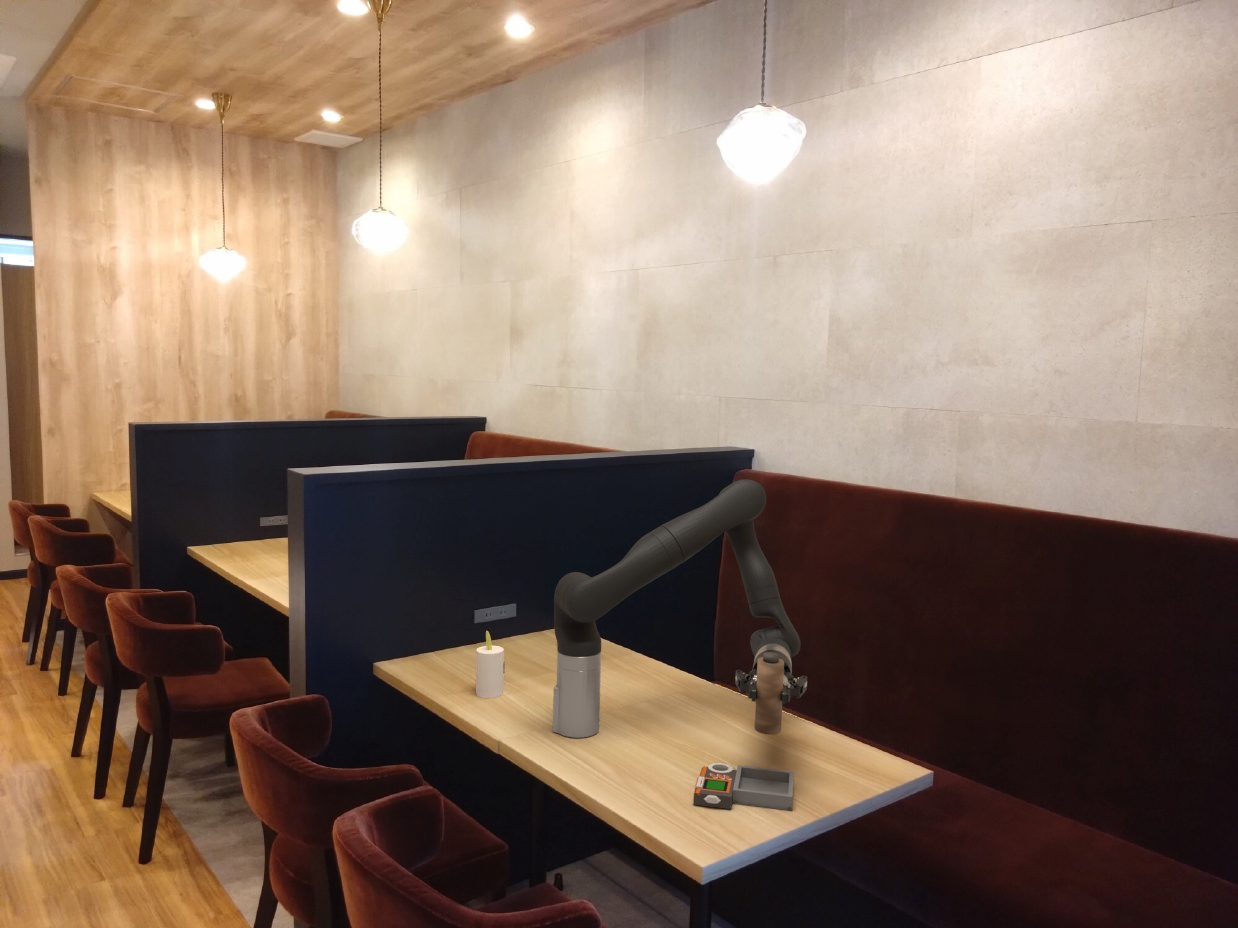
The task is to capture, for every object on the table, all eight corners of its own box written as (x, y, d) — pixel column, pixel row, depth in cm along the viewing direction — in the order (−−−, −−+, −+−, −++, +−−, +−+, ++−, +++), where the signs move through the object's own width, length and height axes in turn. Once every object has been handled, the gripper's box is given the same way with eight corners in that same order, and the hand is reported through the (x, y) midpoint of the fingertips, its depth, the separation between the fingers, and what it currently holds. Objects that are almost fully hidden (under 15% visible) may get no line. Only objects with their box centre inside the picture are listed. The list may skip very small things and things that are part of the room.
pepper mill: (753, 732, 165) (757, 657, 163) (755, 722, 170) (758, 649, 168) (780, 735, 164) (784, 659, 162) (781, 725, 169) (784, 651, 167)
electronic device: (738, 763, 172) (731, 795, 158) (737, 778, 172) (730, 812, 158) (702, 759, 174) (692, 790, 159) (702, 774, 174) (692, 807, 159)
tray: (732, 803, 161) (733, 789, 160) (737, 777, 171) (737, 764, 171) (792, 810, 159) (792, 796, 158) (793, 784, 169) (793, 771, 168)
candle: (504, 697, 209) (505, 634, 207) (476, 698, 208) (476, 635, 206) (503, 688, 215) (504, 626, 213) (475, 688, 214) (476, 627, 212)
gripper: (736, 645, 181) (729, 674, 164) (810, 652, 178) (810, 681, 161) (735, 682, 182) (728, 713, 165) (808, 689, 179) (808, 721, 162)
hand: (769, 697), depth 163 cm, fingers closed on pepper mill, 4 cm apart
